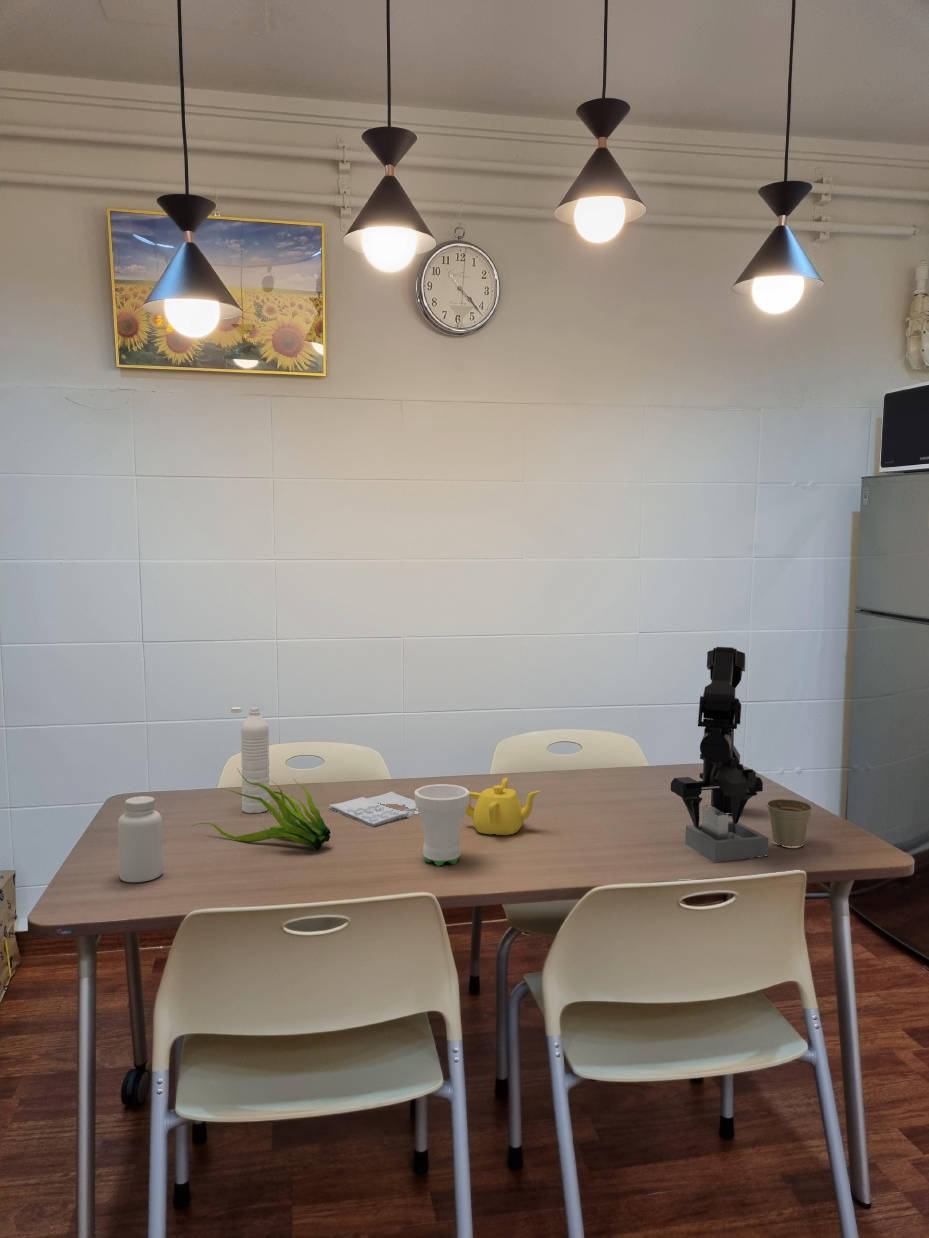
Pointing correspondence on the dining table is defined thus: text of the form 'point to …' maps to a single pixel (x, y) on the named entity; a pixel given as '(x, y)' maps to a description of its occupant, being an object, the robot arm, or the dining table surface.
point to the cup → (442, 820)
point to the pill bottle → (140, 841)
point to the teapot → (499, 810)
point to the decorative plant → (287, 821)
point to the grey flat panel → (376, 808)
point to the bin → (728, 843)
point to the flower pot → (789, 821)
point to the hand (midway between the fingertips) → (715, 824)
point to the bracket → (716, 824)
